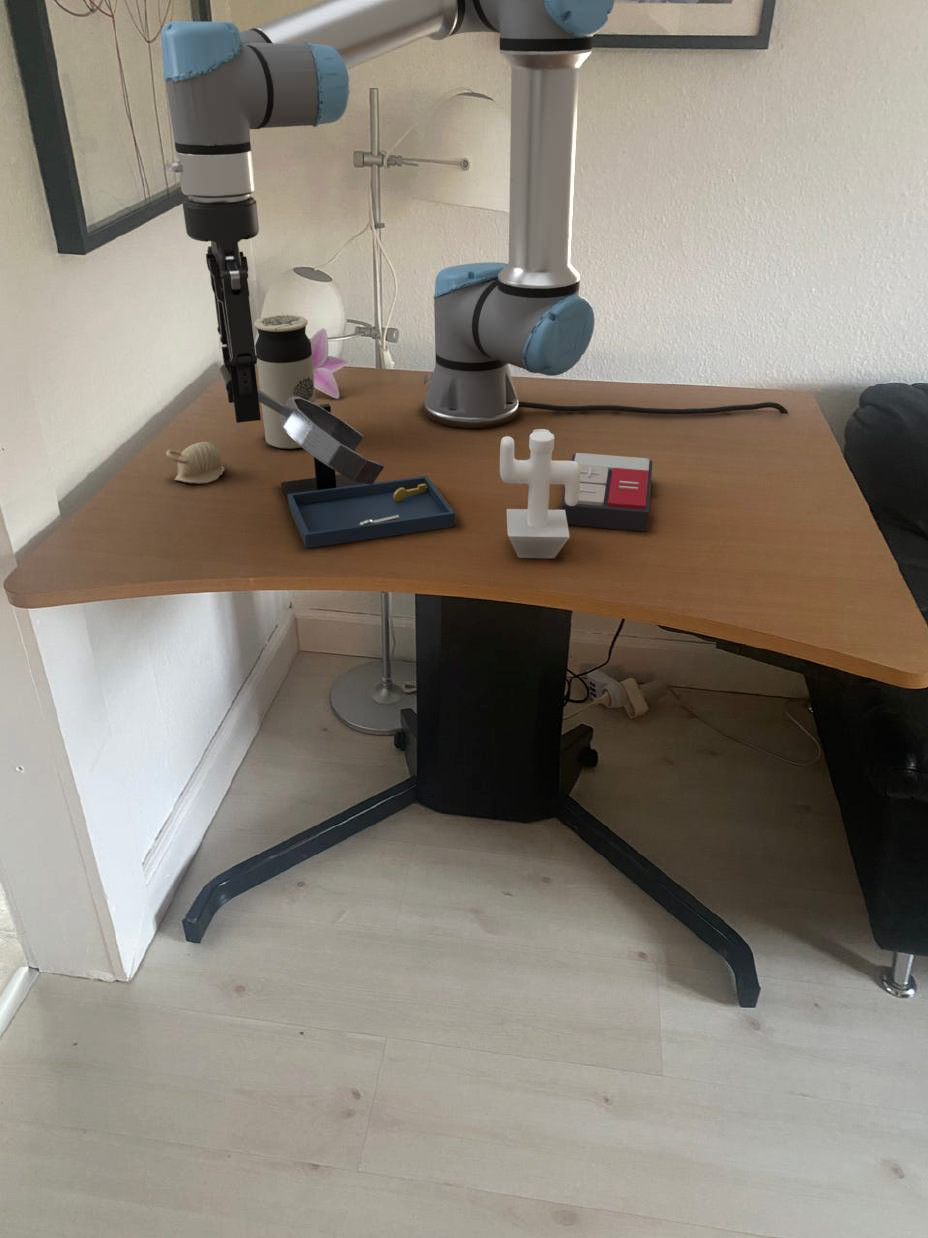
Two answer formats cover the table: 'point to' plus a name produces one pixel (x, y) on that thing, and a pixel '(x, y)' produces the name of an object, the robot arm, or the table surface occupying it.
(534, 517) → the figurine
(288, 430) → the grey frying pan
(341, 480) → the stand
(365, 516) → the tray
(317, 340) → the lily
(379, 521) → the nickel key
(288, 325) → the travel mug
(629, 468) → the calculator
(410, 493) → the brass key
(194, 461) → the decorative ornament
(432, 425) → the table surface
